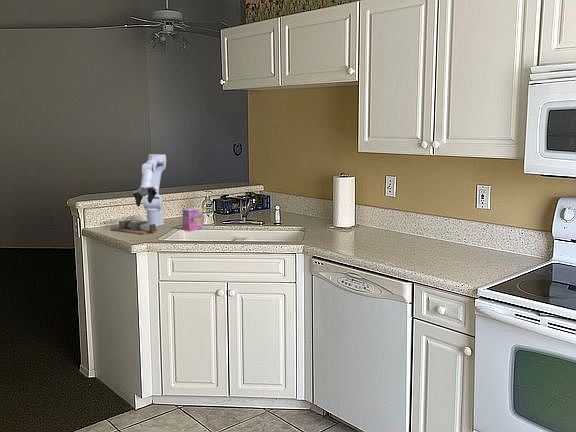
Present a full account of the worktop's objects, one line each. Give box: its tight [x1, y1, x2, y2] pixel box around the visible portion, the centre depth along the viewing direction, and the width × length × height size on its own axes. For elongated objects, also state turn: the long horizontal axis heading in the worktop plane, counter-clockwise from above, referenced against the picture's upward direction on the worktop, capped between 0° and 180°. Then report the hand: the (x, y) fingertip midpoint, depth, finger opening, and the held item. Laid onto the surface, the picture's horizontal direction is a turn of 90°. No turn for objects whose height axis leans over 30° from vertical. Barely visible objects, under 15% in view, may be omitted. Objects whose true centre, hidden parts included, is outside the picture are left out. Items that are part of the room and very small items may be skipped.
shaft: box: [126, 223, 157, 233], centre depth 318 cm, size 4×20×4 cm, turn 64°
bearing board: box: [110, 219, 158, 236], centre depth 320 cm, size 12×22×5 cm, turn 64°
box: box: [182, 206, 204, 232], centre depth 326 cm, size 10×6×12 cm, turn 143°
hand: (143, 204), depth 310 cm, fingers open, 7 cm apart
